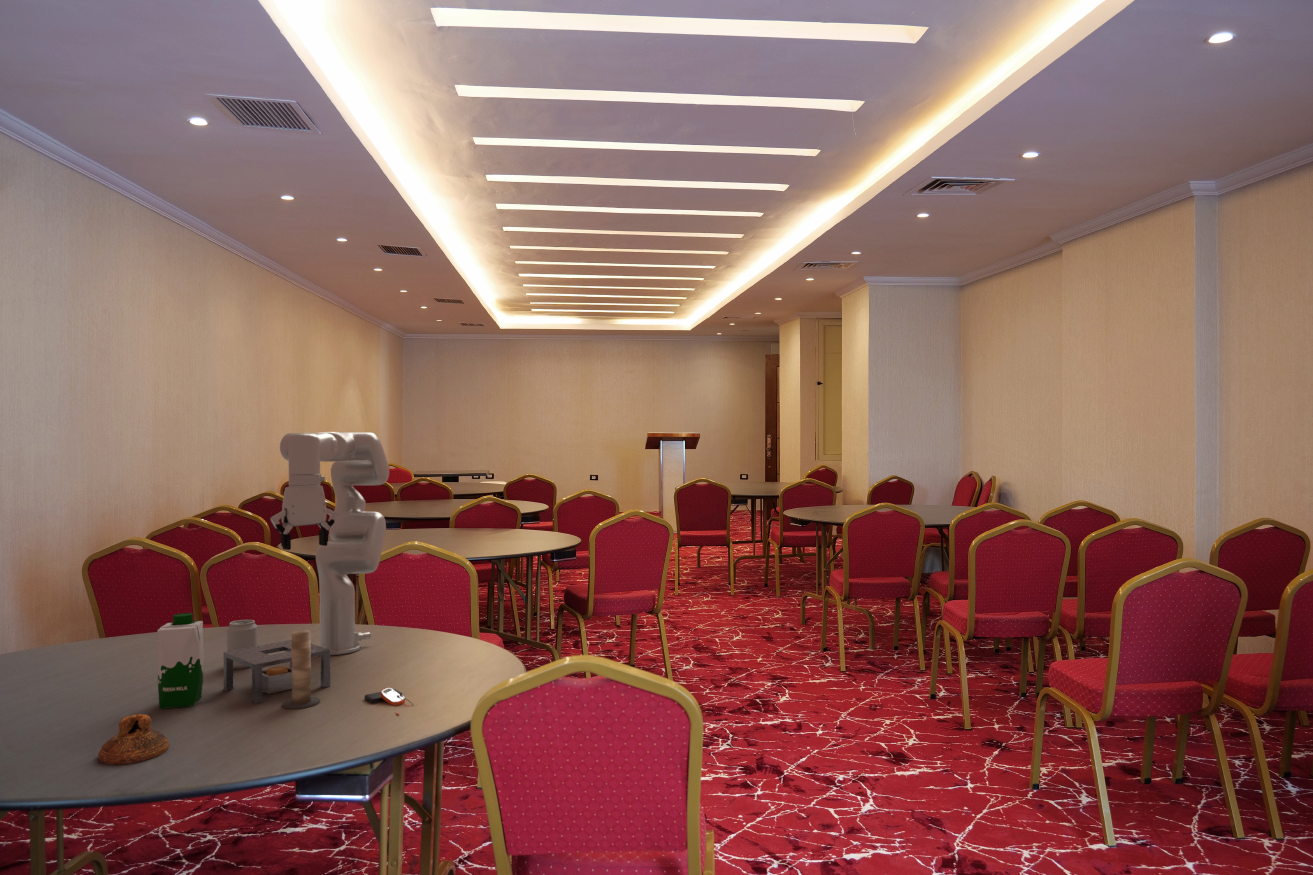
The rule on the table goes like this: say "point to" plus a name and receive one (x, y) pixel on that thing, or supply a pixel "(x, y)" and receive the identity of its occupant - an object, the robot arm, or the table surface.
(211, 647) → the table surface
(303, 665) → the dowel
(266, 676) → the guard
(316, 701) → the coaster
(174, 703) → the milk carton
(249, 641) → the can
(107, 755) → the brown rounded piece
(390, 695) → the multimeter
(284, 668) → the orange-brown round lump
